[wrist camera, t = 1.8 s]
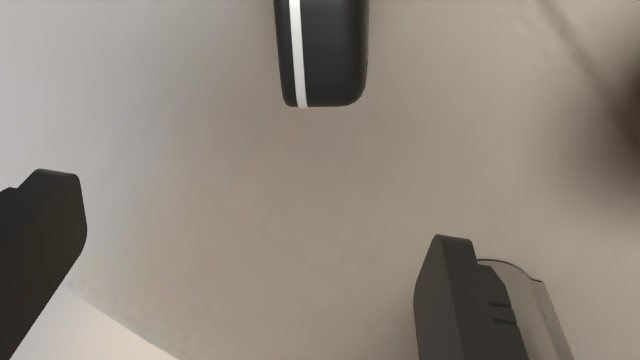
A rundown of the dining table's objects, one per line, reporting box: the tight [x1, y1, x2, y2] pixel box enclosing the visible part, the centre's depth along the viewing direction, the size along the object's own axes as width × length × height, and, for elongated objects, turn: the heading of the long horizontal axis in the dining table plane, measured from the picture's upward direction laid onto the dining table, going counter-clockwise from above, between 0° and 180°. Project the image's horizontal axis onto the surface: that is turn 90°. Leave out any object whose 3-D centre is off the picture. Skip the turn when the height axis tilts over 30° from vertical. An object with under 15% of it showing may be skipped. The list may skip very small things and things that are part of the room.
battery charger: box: [273, 0, 369, 109], centre depth 25 cm, size 7×4×11 cm, turn 2°
